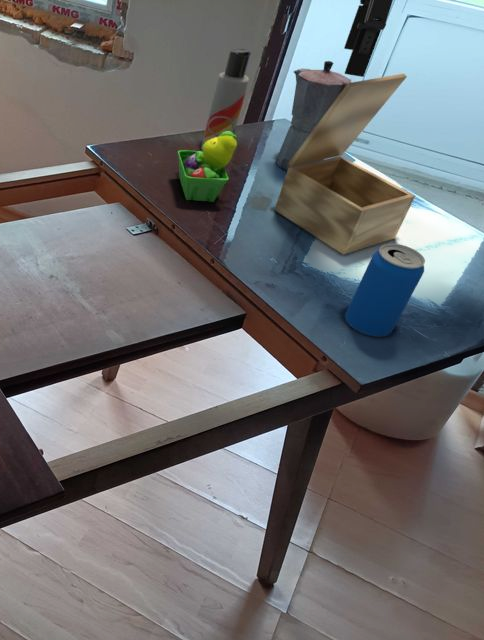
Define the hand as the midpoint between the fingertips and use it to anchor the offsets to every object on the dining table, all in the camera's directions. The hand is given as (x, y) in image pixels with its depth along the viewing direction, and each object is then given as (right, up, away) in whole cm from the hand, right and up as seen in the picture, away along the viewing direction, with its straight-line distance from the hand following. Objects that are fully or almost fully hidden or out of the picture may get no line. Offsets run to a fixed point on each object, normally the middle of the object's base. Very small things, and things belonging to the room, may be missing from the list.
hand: (353, 61), depth 108 cm
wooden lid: (0, -9, +2) cm, 9 cm away
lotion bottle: (-13, -5, +32) cm, 34 cm away
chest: (+1, -25, +10) cm, 27 cm away
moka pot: (+3, -9, +28) cm, 30 cm away
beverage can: (-3, -42, -10) cm, 44 cm away
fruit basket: (-20, -16, +18) cm, 31 cm away
